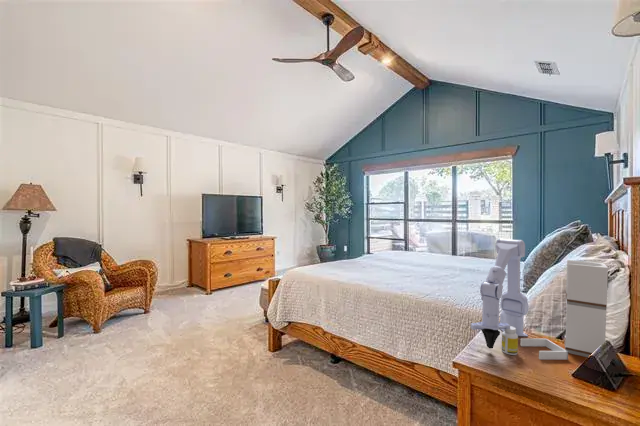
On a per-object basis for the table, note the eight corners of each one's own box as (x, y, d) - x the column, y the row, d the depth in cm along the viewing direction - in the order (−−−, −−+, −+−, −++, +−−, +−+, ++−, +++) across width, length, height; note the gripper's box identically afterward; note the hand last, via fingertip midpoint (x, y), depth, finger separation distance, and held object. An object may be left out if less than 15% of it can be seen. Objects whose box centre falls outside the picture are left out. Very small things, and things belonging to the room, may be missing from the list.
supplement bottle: (520, 353, 120) (521, 328, 120) (512, 356, 118) (513, 331, 117) (506, 347, 125) (506, 323, 125) (498, 351, 122) (499, 326, 122)
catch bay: (520, 345, 127) (520, 338, 127) (546, 345, 127) (546, 338, 127) (539, 359, 116) (540, 351, 116) (568, 359, 116) (568, 351, 116)
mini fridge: (600, 350, 123) (604, 263, 122) (604, 361, 115) (608, 267, 114) (564, 342, 130) (567, 259, 129) (565, 352, 122) (568, 263, 120)
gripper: (477, 316, 117) (476, 352, 117) (515, 317, 117) (514, 352, 117) (468, 310, 124) (467, 343, 124) (504, 310, 124) (503, 343, 124)
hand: (489, 347), depth 121 cm, fingers closed
